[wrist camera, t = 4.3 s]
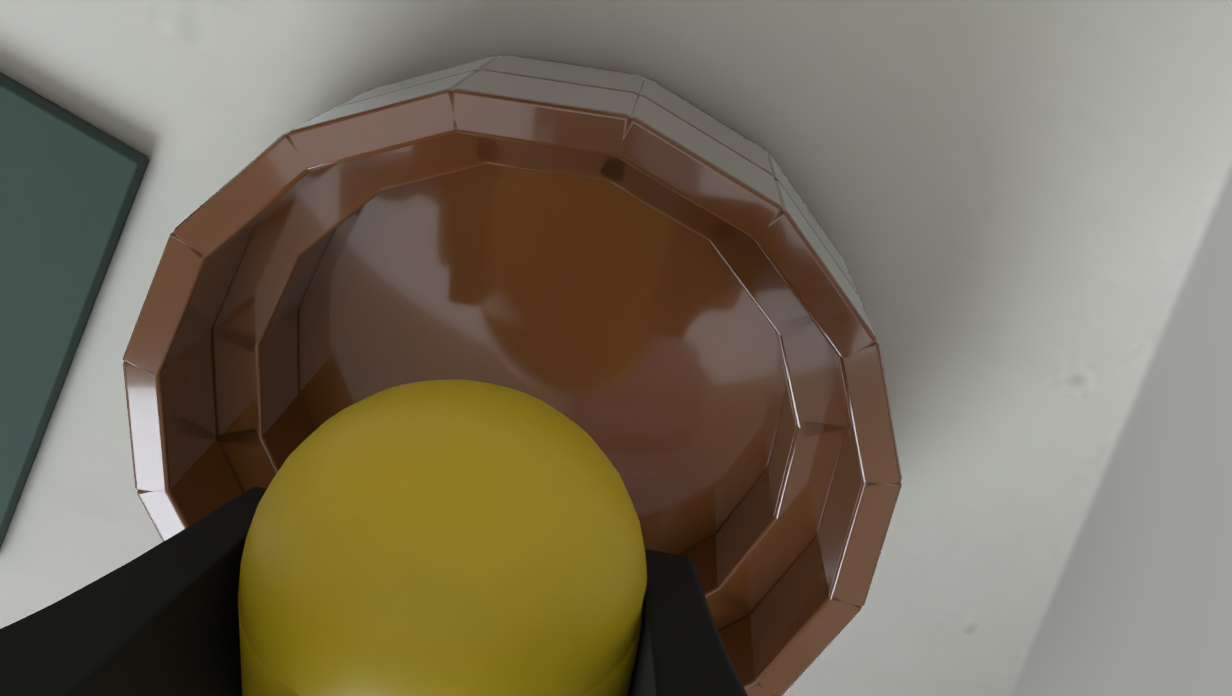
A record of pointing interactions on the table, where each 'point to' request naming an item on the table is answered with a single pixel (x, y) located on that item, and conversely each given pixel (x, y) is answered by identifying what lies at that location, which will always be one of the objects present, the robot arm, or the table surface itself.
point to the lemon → (443, 554)
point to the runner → (49, 259)
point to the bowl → (542, 325)
